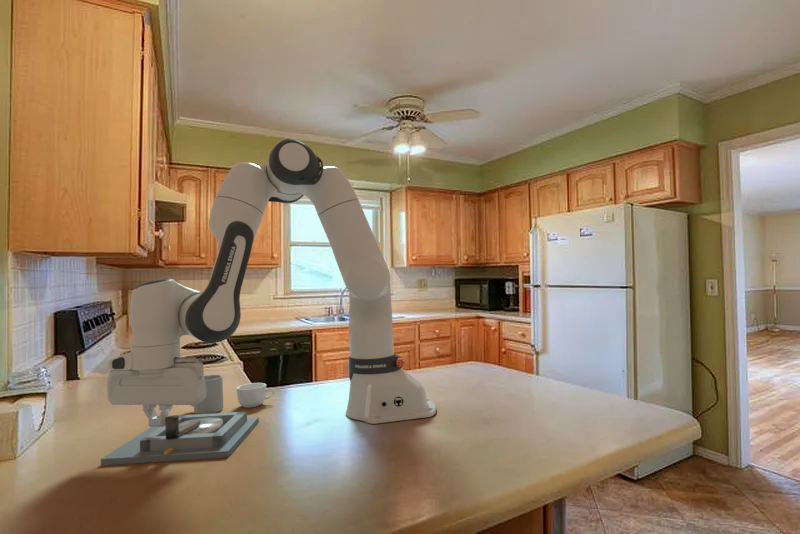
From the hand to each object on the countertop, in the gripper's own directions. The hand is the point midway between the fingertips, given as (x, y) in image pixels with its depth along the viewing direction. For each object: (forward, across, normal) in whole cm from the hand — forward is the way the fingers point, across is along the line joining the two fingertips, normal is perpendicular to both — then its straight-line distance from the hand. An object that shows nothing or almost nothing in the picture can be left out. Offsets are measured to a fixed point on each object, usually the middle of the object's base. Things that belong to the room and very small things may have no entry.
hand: (158, 425), depth 88 cm
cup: (+6, +8, -27) cm, 29 cm away
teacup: (+6, -4, -33) cm, 34 cm away
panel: (+5, -2, -6) cm, 8 cm away
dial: (+4, -4, -4) cm, 7 cm away
